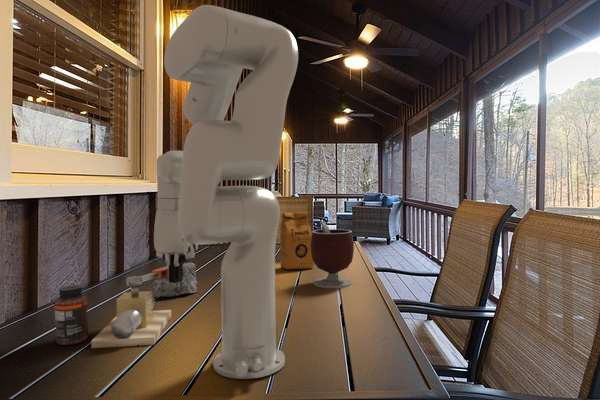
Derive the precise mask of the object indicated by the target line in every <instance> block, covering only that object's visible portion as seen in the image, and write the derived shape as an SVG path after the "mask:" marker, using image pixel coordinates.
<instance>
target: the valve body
mask: <svg viewBox="0 0 600 400" xmlns="http://www.w3.org/2000/svg"><path fill="white" fill-rule="evenodd" d="M155 305H156V300H155V298H154V295H153V293H152V290H150V291H149V290H148V291H147V290H146V291H139V286H133V287H130V291H125V292H124V293H122V294H121V295H120V296H119V297H117V298H116V316H117V319H116V320H115V321H114V322H113V323H112V326H111V331H112V333H113V335H114V336H115V337H117V338H119V339H126V338H128V337H130V336H131V335H132V334H133V332H134V331H135V330H136V328H144V327H147V326H148V324H149V323H150V322H151V320H152V319H153V317H152V311H153V308H154V307H155Z"/></svg>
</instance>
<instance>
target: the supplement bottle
mask: <svg viewBox="0 0 600 400" xmlns="http://www.w3.org/2000/svg"><path fill="white" fill-rule="evenodd" d="M58 290H59V297H58V298H56V300H55V302H54V319H55V321H54V323H55V338H56V340H55V341H56V344H58V345H59V346H71V345H77V344H80V343H82V342H85V341H86V340H87V339H88V338H89V316H88V298H87V296H85V295H83V294H82V286H81V285H78V284H72V285H65V286H62V287H60V288H59V289H58Z"/></svg>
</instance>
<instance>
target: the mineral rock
mask: <svg viewBox="0 0 600 400" xmlns="http://www.w3.org/2000/svg"><path fill="white" fill-rule="evenodd" d="M196 270H197V268H196V264H195V263H193V262H187V263H186V262H185V264H184V265H183V280H182V281H180V282H177V283H173V282H172V283H170V282H169V276H168V277H165V278H161V279H160V278H157V279H156V280H154V281H153V282H152V283H151V286H152V290H151V291H152V296H153V297H154V296H155V297H179V296H181V295H184V294H195V293H198V292H199V286H198V285H199V282H198V281H197V271H196Z"/></svg>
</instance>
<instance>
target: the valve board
mask: <svg viewBox="0 0 600 400" xmlns="http://www.w3.org/2000/svg"><path fill="white" fill-rule="evenodd" d="M152 317H153V319H152V320H151V322H150V323H149V324H148V326H147V327H144V328H136V330H135V331H134V332H133V334H132V335H131V336H130V337H128V338H126V339H119V338H117V337H115V336H114V335H113V333H112V331H111V326H112V323H113V322H114V321H115V320H116V319H117V315H116V316H115V317H114V318H113V319H112V320H111V321H110V322H109V323H108V324H107V325H106V326H104V327H103V329H102V330H101V331H100V332H98V334H96V335H95V336H94V337H93V339H92V340H90V341H91V343H90V344H91V349H103V348H117V347H118V348H119V347H135V346H136V347H138V346H137V345H139V346H151V345H152V346H154V345H155V344H156V343H157V341H158V339H159V337H160V335H161V334H162V333H163V331H162V330H164V329H165V327H166V326H165V325H167V324H168V322H169V321H168V320H170V319H171V317H172V310H171V309H165V310H152Z"/></svg>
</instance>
